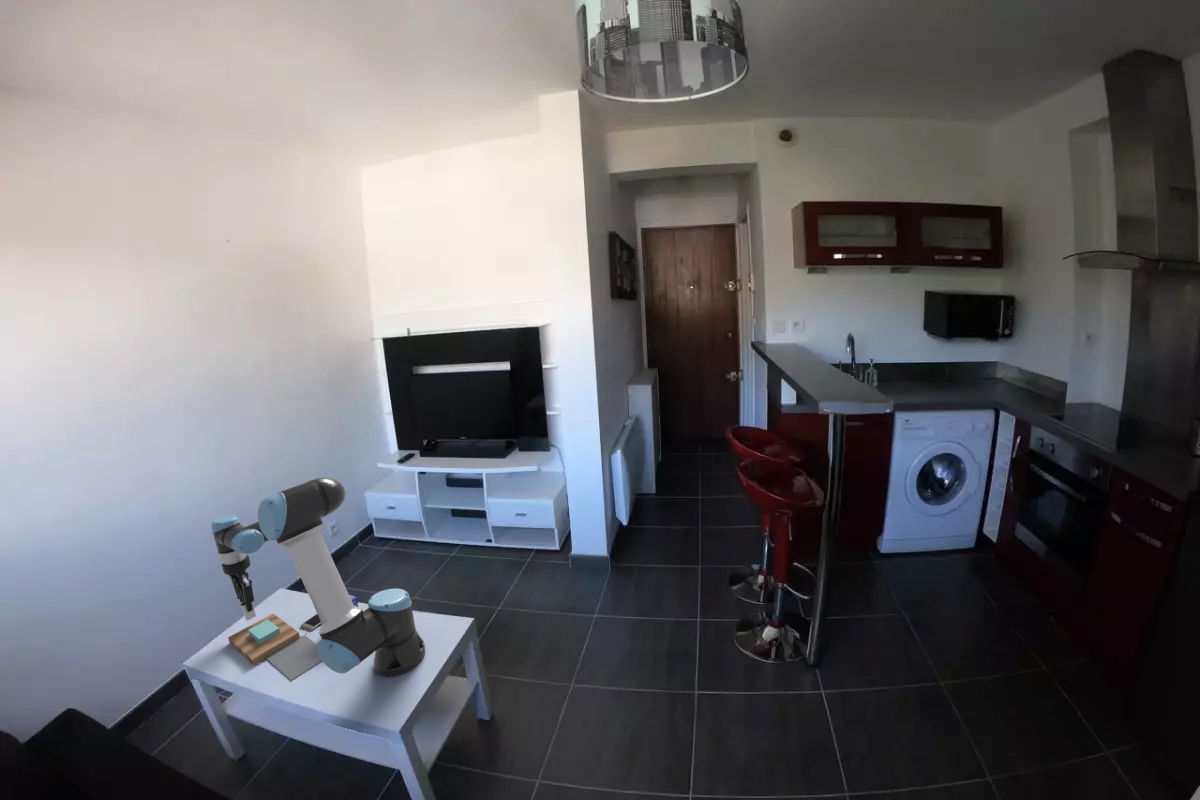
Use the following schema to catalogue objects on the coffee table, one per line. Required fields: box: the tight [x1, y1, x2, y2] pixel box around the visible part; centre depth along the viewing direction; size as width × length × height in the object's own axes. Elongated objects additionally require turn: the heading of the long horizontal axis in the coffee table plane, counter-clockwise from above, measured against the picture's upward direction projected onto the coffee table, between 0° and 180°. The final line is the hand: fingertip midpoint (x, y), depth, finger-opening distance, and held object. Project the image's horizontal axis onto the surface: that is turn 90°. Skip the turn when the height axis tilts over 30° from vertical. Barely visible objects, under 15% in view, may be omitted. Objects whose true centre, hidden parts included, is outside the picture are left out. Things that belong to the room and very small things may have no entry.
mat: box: [265, 634, 323, 682], centre depth 153 cm, size 18×12×1 cm, turn 56°
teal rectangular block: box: [248, 620, 280, 644], centre depth 162 cm, size 9×6×2 cm, turn 56°
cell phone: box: [300, 613, 322, 633], centre depth 171 cm, size 6×11×1 cm, turn 156°
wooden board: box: [227, 613, 300, 667], centre depth 162 cm, size 20×14×2 cm
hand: (250, 617), depth 167 cm, fingers closed
